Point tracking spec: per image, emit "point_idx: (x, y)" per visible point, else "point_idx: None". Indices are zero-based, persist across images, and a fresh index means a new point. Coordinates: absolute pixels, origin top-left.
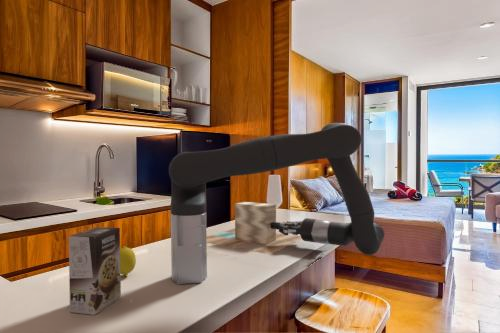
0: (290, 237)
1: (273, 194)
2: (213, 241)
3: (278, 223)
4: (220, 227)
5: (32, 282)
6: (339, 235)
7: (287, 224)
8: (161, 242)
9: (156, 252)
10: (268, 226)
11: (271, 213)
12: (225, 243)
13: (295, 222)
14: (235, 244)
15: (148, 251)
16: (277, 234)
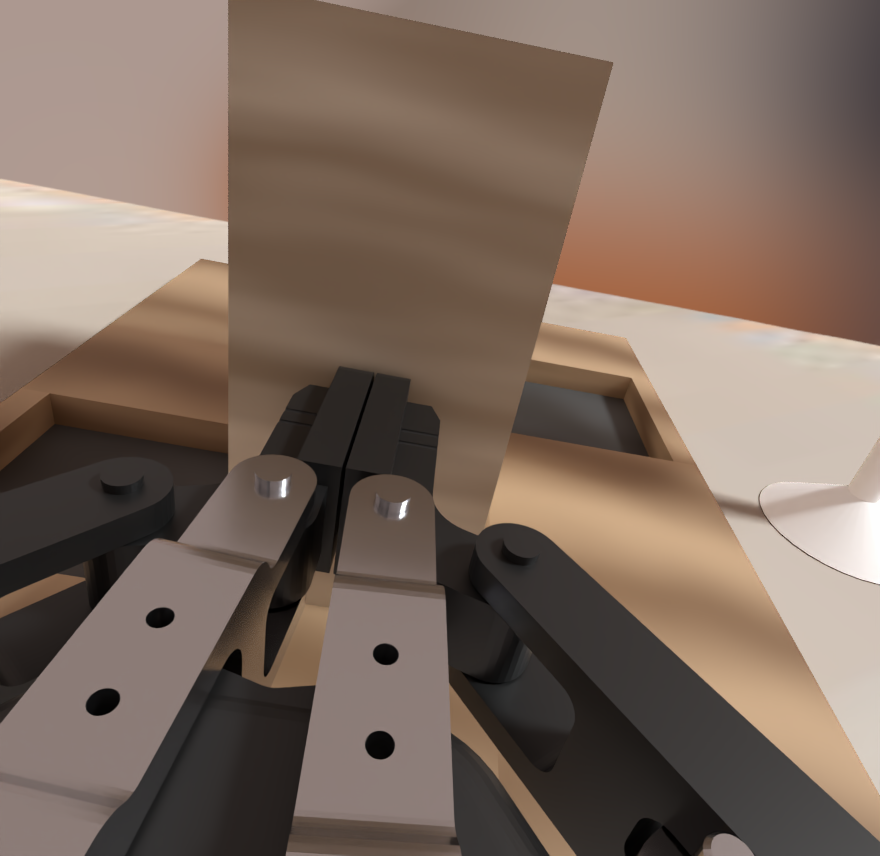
0: None
1: None
2: (198, 303)
3: (306, 442)
4: (610, 308)
5: None
6: None
7: (112, 616)
8: (204, 222)
9: (4, 223)
10: (264, 396)
11: (389, 207)
12: (153, 346)
13: (371, 804)
14: (131, 389)
15: (24, 211)
16: (700, 574)
